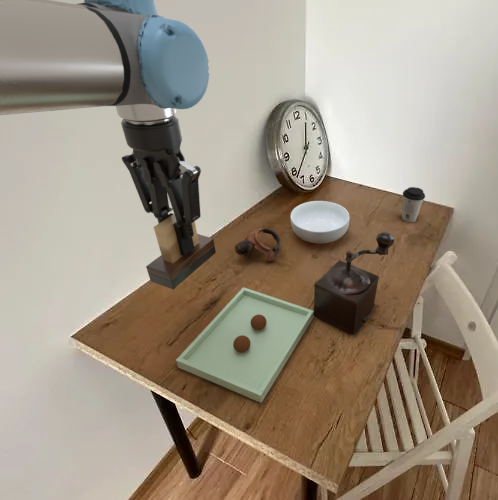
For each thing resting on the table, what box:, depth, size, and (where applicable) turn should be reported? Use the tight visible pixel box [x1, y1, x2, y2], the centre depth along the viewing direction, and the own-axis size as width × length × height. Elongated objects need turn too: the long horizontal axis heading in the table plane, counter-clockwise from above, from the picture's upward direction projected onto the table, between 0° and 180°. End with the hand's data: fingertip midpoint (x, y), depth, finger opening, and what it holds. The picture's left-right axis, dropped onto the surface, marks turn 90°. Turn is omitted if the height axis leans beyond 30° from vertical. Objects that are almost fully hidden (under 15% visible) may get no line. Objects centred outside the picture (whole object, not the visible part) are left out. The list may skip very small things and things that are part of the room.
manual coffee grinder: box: [313, 231, 395, 336], centre depth 76 cm, size 16×11×18 cm
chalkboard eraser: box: [145, 213, 217, 290], centre depth 64 cm, size 12×5×10 cm, turn 159°
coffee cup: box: [401, 186, 426, 223], centre depth 112 cm, size 7×7×10 cm
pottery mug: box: [234, 227, 282, 263], centre depth 92 cm, size 12×10×8 cm
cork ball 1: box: [233, 335, 250, 353], centre depth 68 cm, size 3×3×3 cm
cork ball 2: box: [251, 315, 267, 330], centre depth 72 cm, size 3×3×3 cm
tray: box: [175, 286, 314, 404], centre depth 71 cm, size 22×18×2 cm
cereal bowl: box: [289, 200, 350, 245], centre depth 102 cm, size 17×17×7 cm
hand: (181, 249), depth 65 cm, fingers closed on chalkboard eraser, 2 cm apart
